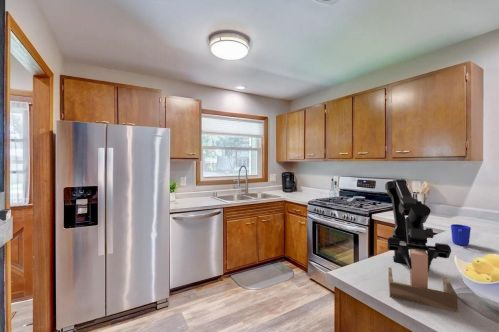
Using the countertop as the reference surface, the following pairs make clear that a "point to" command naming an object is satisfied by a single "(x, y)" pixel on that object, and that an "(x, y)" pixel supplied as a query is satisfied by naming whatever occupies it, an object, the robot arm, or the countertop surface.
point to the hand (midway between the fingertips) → (419, 270)
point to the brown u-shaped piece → (425, 294)
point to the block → (419, 268)
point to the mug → (460, 234)
